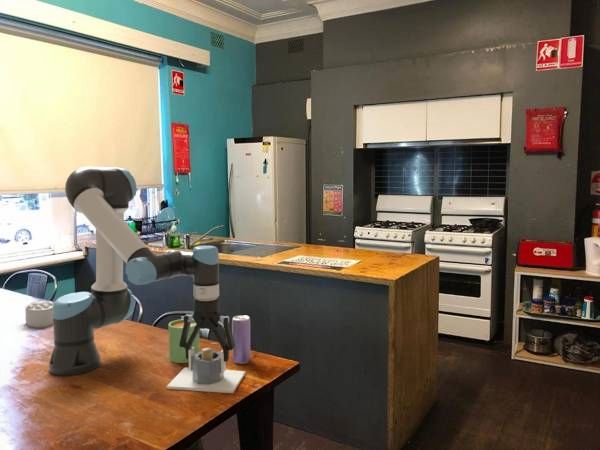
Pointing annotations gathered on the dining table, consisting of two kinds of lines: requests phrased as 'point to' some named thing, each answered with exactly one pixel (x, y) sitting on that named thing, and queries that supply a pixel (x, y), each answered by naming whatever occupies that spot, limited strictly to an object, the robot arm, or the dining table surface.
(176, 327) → the mug
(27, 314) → the lumpy-topped squat cylinder
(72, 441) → the dining table surface
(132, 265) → the robot arm
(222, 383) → the base board
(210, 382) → the ring
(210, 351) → the post
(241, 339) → the beverage can
